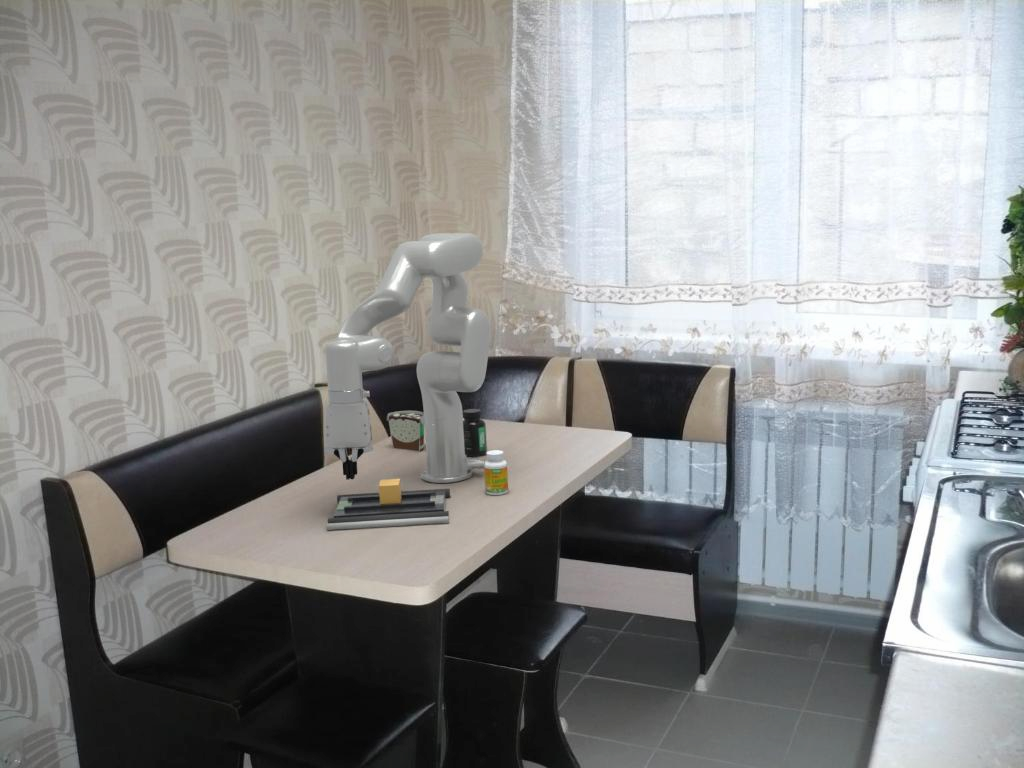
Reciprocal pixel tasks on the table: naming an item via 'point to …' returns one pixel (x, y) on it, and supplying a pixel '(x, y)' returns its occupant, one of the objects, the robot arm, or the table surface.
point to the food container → (407, 430)
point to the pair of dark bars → (389, 516)
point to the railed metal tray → (408, 504)
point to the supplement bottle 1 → (474, 433)
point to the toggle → (390, 491)
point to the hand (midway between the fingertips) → (350, 477)
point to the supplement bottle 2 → (495, 473)
